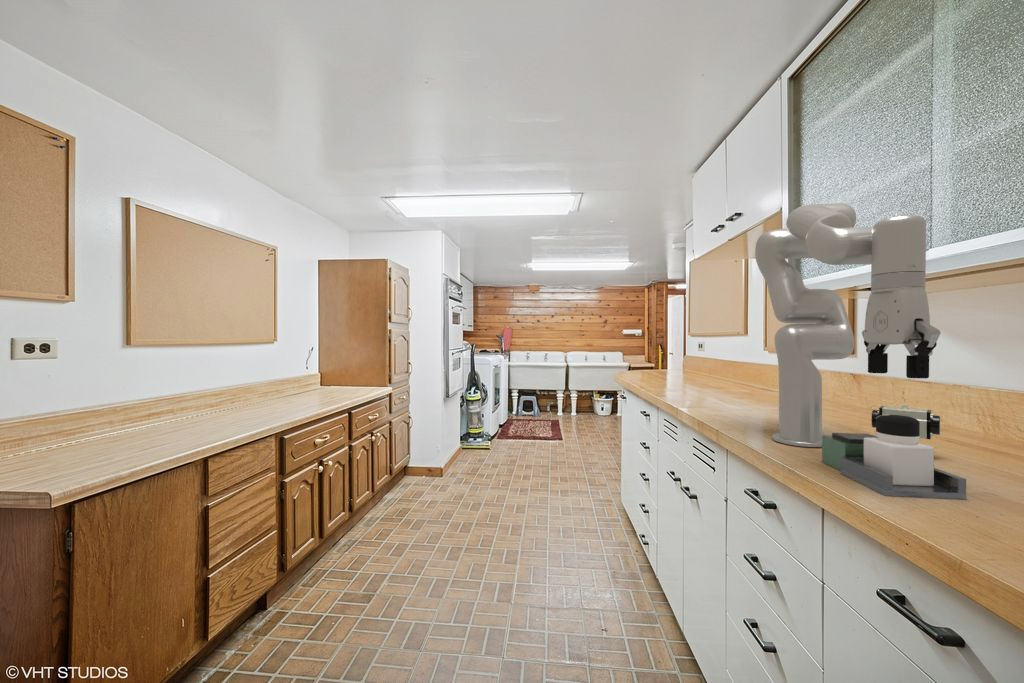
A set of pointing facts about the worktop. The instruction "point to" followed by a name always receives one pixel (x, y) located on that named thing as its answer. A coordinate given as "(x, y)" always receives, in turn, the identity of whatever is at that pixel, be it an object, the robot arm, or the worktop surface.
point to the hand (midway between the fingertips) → (896, 375)
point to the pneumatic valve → (926, 419)
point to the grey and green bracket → (849, 459)
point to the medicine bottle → (900, 451)
